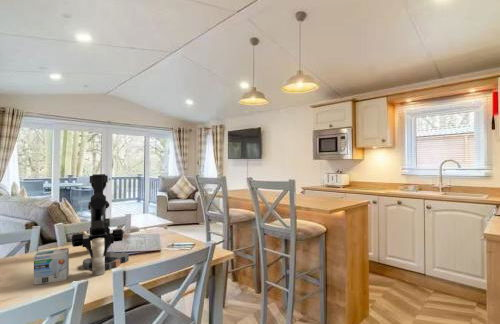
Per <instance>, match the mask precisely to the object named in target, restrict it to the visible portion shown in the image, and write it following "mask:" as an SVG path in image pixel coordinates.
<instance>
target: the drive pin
mask: <svg viewBox="0 0 500 324" xmlns="http://www.w3.org/2000/svg"><path fill="white" fill-rule="evenodd" d="M91 248H92V268H91V269H92V270H91V271H92V273H91V274H92V276H93V277H100V276H102V275H103V276H104V275H105V273H106V269H105V255H104V251H105V250H104V238H95V239H93V240H92V241H91Z"/></svg>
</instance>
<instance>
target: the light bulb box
mask: <svg viewBox="0 0 500 324" xmlns="http://www.w3.org/2000/svg"><path fill="white" fill-rule="evenodd" d="M69 251H70V248H69V247H65V248H57V249H56V248H55V249H49V250H40V251H37V252H36V253H35V255H34V256H33V285H34V286H36V285H42V284H49V283H50V284H51V283H54V282H62V281H67V280H68V276H69V274H70V270H69V269H70V267H69V266H70V265H69V264H70V257H69V256H70V255H69Z"/></svg>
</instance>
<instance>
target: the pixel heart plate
mask: <svg viewBox="0 0 500 324" xmlns="http://www.w3.org/2000/svg"><path fill="white" fill-rule="evenodd" d="M129 256H130V255H129V253H128V252H123V251H122V252H114V251H112V250H111V251H109V250H108V251H107V253H106V256H105V270H109V271H110V270H111V269H114V268H119V267H120V266H121V264H123V263H127V262H129V260H130V259H129V258H130V257H129ZM82 269H84V270H91V269H92V258H91V257H87V258H85V259H83V261H82Z"/></svg>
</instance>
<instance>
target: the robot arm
mask: <svg viewBox="0 0 500 324" xmlns="http://www.w3.org/2000/svg"><path fill="white" fill-rule="evenodd" d="M108 177H109V176H108V175H106V173H100V174H97V173H95V174H92V175H89V184H90V187H91V188H92V190H93V195H91V196H90V201H88V206H87V208H88V210H89V211H90V227H89V234H85V235H84V233H83V232H80V233H73V234H72V235H71V244H72V245H71V246H72V247H73V248H77V247H82V248H85V249H86V250H87V252H88V253H89V257H90V258H92V240H93V239H95V238H104V250H105V251H104V255H105V256H106V253H107V252H109V249H110V247H111V245H113V244H114V242H122V241H123V239H124V238H123V237H124V231H123V229H122V228H118V229H112V233H111V229H110V227H111V221H110V220H111V219H110V218H109V217H108V218H106V215H107V209H108V208H109V207H110V203H109V201H108V200H107V197H106V195H105V194H104V191H105V189H106V187H107V184H108V182H109V180H108ZM108 248H109V249H108Z"/></svg>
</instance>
